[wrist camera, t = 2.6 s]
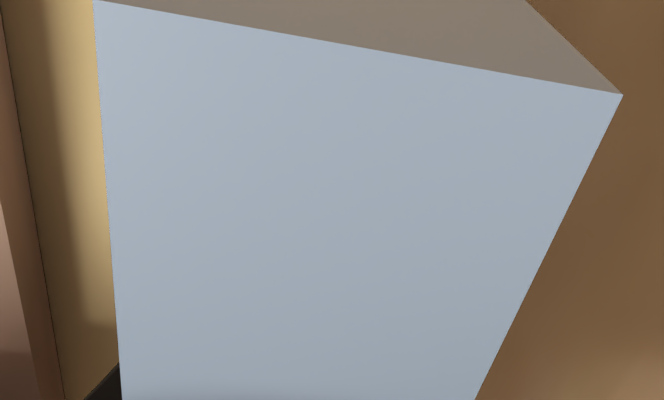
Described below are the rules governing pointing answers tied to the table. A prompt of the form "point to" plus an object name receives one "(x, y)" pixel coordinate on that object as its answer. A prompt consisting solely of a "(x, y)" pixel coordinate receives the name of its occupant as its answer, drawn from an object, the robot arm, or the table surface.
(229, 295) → the slat
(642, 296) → the table surface
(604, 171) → the table surface
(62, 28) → the table surface
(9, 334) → the frame
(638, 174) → the table surface
